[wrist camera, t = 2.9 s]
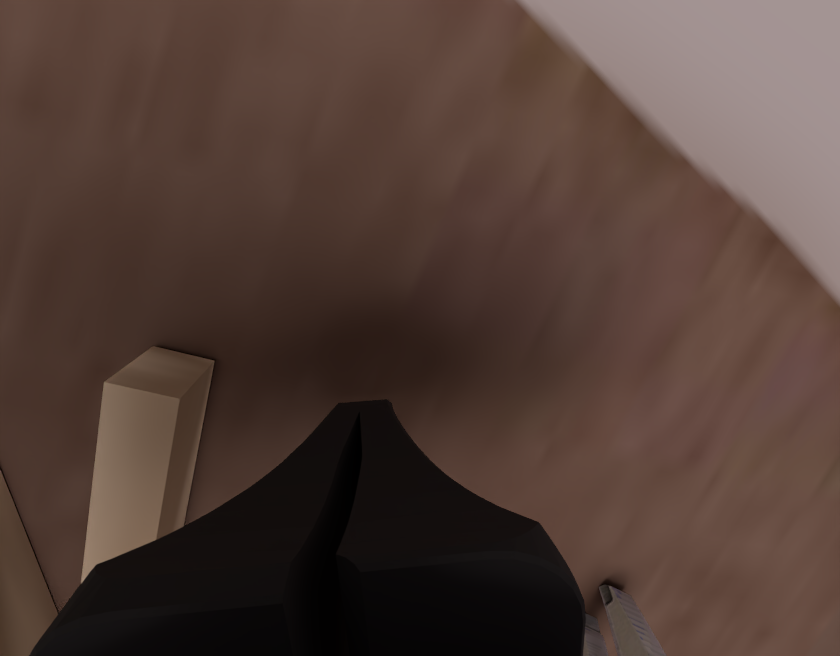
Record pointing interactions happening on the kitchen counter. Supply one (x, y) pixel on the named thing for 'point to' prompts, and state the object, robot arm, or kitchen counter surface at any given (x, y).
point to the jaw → (145, 452)
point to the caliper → (621, 628)
